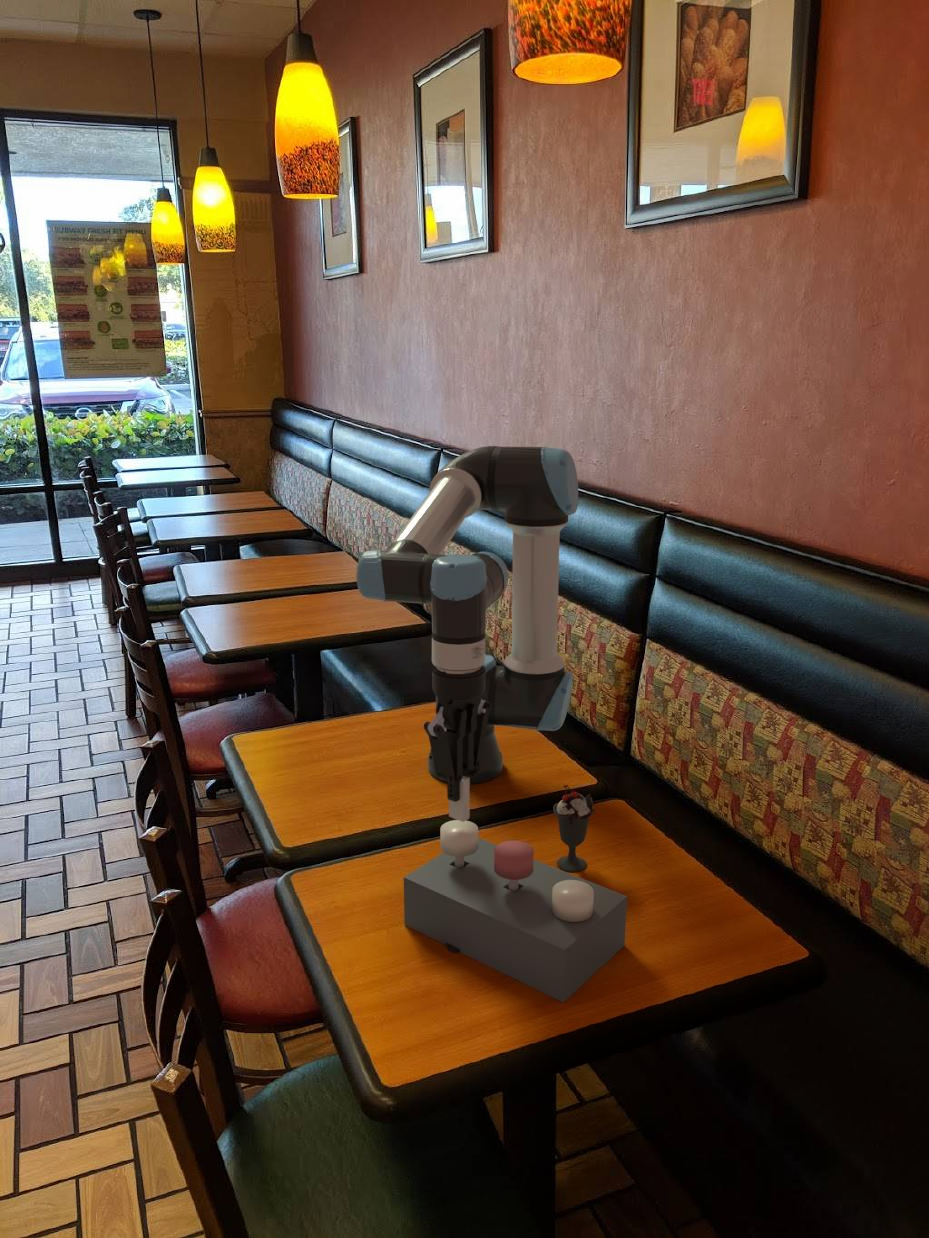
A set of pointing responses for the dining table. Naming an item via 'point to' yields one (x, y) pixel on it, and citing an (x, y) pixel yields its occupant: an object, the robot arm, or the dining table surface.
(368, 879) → the dining table surface
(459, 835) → the cream knob
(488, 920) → the control box
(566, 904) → the cream knob
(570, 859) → the sundae
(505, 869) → the pink knob
